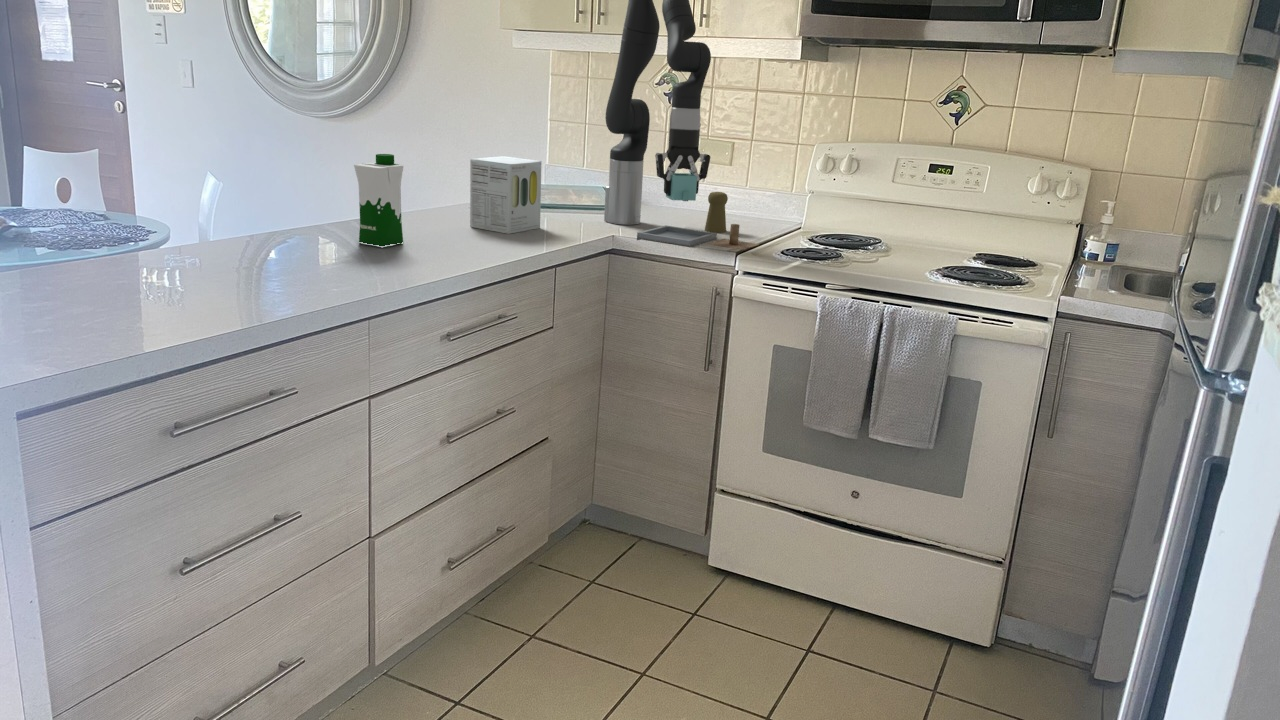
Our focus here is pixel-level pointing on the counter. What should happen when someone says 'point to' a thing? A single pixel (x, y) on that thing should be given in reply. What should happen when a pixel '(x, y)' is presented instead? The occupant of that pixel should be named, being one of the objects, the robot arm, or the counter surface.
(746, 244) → the square board with knob
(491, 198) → the supplement box
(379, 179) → the milk carton
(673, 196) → the open box
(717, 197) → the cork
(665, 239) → the tray
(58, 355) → the counter surface
